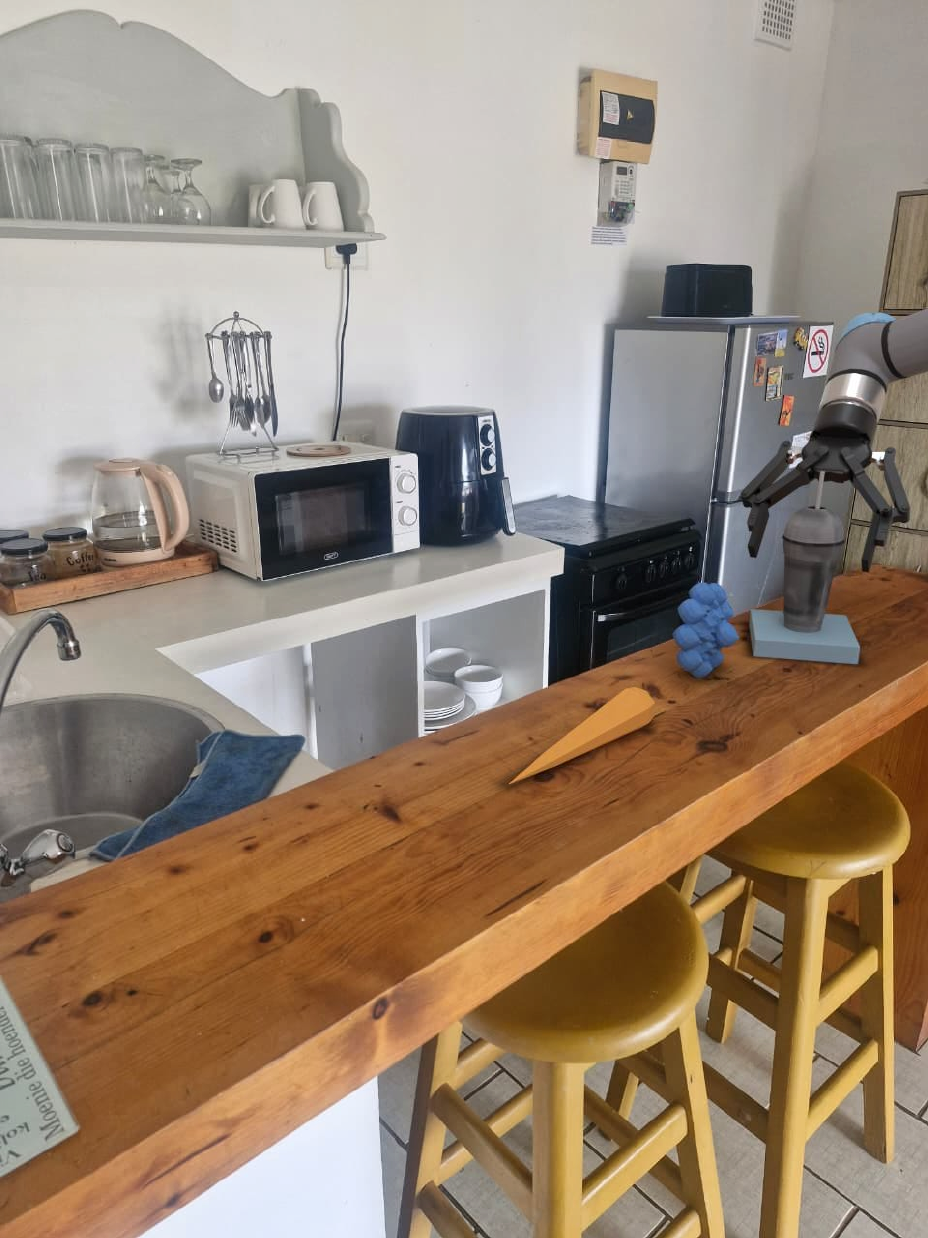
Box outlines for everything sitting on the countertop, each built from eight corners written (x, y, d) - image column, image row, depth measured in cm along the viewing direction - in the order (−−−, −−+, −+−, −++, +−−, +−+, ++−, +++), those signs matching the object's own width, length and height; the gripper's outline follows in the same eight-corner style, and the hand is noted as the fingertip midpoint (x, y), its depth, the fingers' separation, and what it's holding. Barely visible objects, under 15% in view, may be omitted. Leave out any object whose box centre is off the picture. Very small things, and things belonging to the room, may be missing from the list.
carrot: (635, 722, 93) (622, 683, 92) (668, 720, 89) (654, 680, 89) (501, 806, 81) (484, 761, 81) (531, 808, 77) (515, 762, 77)
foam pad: (843, 632, 115) (845, 615, 115) (857, 666, 104) (860, 647, 104) (749, 626, 118) (750, 608, 118) (753, 658, 107) (755, 639, 107)
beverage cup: (829, 619, 113) (850, 465, 106) (836, 638, 106) (858, 476, 100) (770, 615, 115) (787, 464, 108) (773, 634, 108) (791, 474, 102)
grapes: (710, 703, 95) (719, 599, 91) (656, 687, 100) (662, 587, 96) (756, 671, 103) (766, 575, 99) (703, 658, 108) (711, 565, 104)
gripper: (952, 443, 109) (918, 589, 102) (754, 432, 122) (712, 561, 115) (955, 403, 103) (919, 555, 96) (747, 396, 116) (701, 530, 109)
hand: (806, 559), depth 105 cm, fingers open, 12 cm apart
